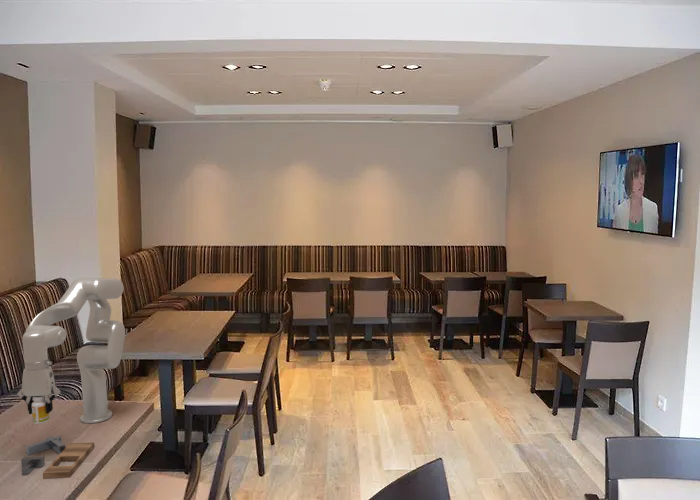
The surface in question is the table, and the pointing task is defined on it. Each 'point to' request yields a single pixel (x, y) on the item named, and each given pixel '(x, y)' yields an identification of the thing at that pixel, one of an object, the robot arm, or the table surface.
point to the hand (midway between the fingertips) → (40, 411)
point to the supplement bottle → (39, 410)
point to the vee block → (46, 445)
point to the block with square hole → (70, 453)
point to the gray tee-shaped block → (31, 464)
